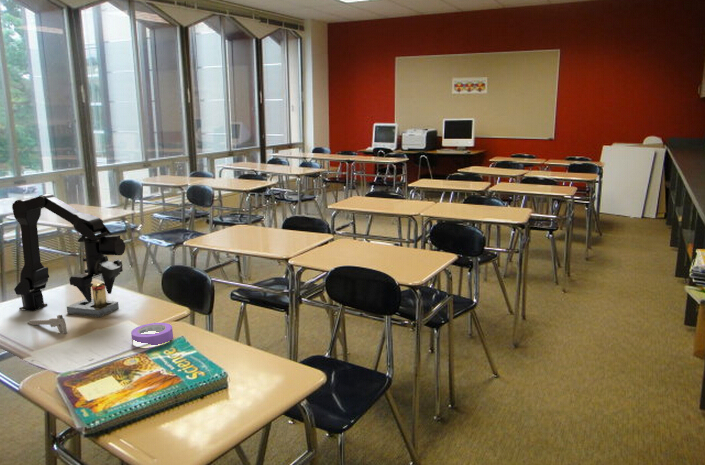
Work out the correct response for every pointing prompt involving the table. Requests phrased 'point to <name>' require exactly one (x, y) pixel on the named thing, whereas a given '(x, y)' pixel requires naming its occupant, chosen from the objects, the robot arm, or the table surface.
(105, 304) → the tan cylindrical container
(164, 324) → the masking tape
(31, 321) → the caliper
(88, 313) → the grey flat block
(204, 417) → the table surface
